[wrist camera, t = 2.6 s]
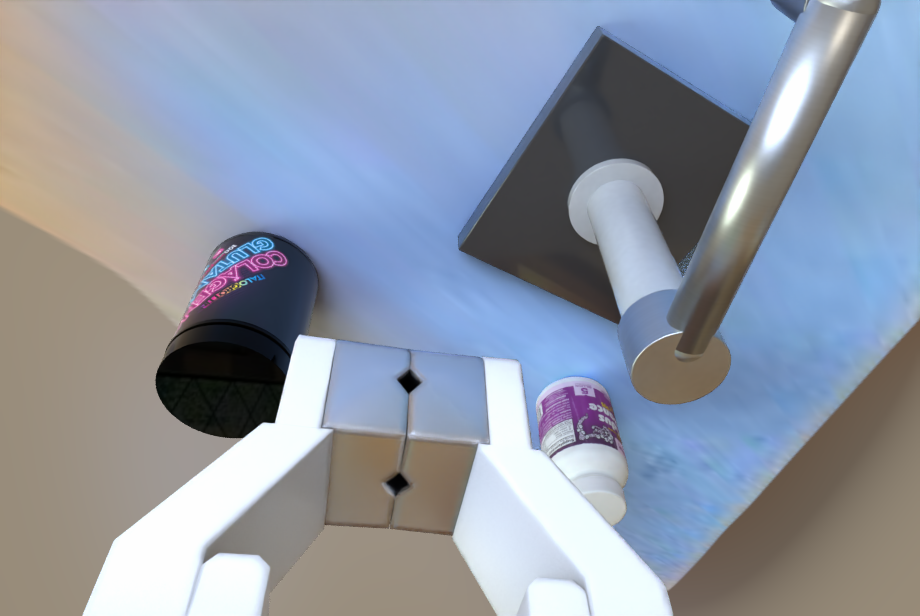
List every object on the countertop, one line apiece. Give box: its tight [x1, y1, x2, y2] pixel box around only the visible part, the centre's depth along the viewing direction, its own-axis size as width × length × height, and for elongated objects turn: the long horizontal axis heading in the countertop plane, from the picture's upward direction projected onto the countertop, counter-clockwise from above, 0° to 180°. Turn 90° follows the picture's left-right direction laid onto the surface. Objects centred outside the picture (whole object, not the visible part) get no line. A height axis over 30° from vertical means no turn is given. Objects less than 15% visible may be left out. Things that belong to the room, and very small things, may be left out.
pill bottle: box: [536, 377, 628, 526], centre depth 47 cm, size 5×5×10 cm
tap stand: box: [458, 26, 751, 325], centre depth 36 cm, size 14×12×12 cm
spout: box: [618, 0, 881, 404], centre depth 26 cm, size 17×4×4 cm, turn 170°
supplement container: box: [156, 232, 318, 438], centre depth 40 cm, size 7×7×10 cm
